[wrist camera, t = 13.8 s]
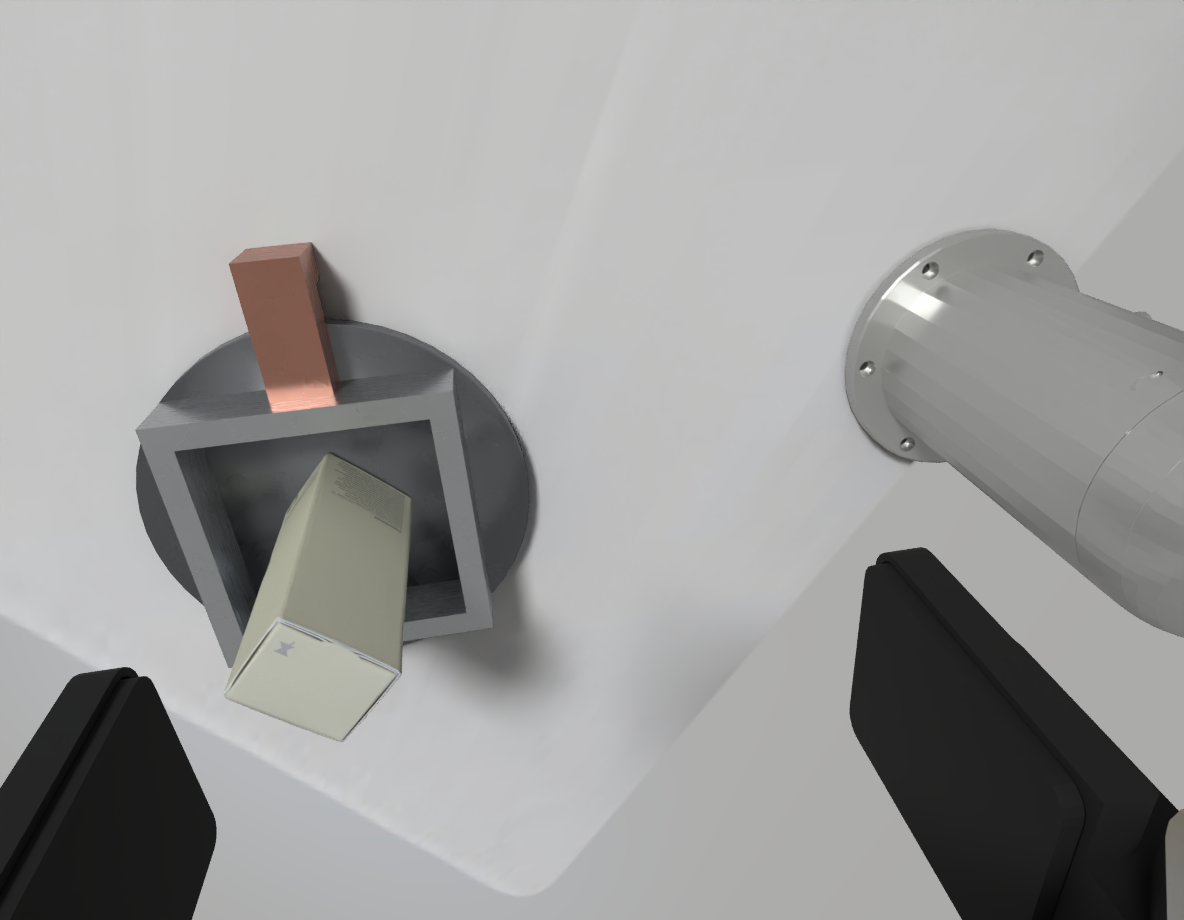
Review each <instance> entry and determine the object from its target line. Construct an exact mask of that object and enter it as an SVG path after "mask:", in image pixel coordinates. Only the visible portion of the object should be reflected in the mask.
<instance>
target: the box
mask: <svg viewBox="0 0 1184 920" xmlns="http://www.w3.org/2000/svg"><path fill="white" fill-rule="evenodd" d="M412 509H413V501H412V499H411V498H410V497H408V496H407V495H405V494H403V493H402V492H400V491H398V490H397V489H395V488H393V487H391V486H390V485H388V484H386V483H384V482H383V481H381V480H379V479H377V478H375V477H374V476H372V475H370V474H368V473H366V472H364V471H363V470H361V469H359V468H357V467H355V466H353V465H352V464H350V463H348V462H346V461H344V460H342V459H340V458H338V457H336V456H334V455H332V454H329V453H328V454H326V455H325V456H324V458H323V459H322V461H321V462H320V463H319V465H318V466H317V467H316V469H315V470H314V472H313V473H312V474H311V476H310V477H309V479H308V480H307V481H306V483H305V484H304V486H303V487H302V489H301V490H300V492H299V493H298V495H297V496H296V498H295V499H294V501H293V502H292V504H291V506H290V507H289V509H288V510H287V512H286V514H285V517H284V521H283V524H282V527H281V529H280V532H279V535H278V538H277V541H276V544H275V547H274V549H273V552H272V555H271V559H270V561H269V564H268V567H267V569H266V573H265V576H264V578H263V581H262V584H261V587H260V589H259V592H258V595H257V598H256V601H255V604H254V607H253V610H252V613H251V616H250V619H249V621H248V624H247V627H246V630H245V633H244V636H243V638H242V641H241V644H240V647H239V650H238V653H237V656H236V659H235V662H234V665H233V668H232V671H231V674H230V677H229V680H228V683H227V686H226V689H225V692H224V696H225V698H227V699H229V700H231V701H233V702H236V703H238V704H241V705H243V706H246V707H248V708H250V709H253V710H255V711H258V712H261V713H263V714H265V715H268V716H271V717H273V718H276V719H278V720H281V721H284V722H286V723H289V724H291V725H294V726H296V727H299V728H302V729H305V730H307V731H310V732H313V733H316V734H319V735H321V736H324V737H327V738H330V739H333V740H336V741H338V742H343V741H345V740H346V739H347V737H348V736H349V735H350V734H351V733H352V732H353V730H354V729H355V728H356V727H357V726H358V725H359V724H360V723H361V722H362V721H363V720H364V719H365V717H366V716H367V715H368V713H369V712H370V711H371V710H372V709H373V708H374V707H375V706H376V705H377V704H378V703H379V701H380V700H381V699H382V698H383V697H384V695H385V694H386V693H387V692H388V690H389V689H390V688H391V687H392V686H393V684H394V683H395V682H396V681H397V680H398V678H399V677H400V676H401V674H402V649H403V633H404V619H405V604H406V591H407V576H408V562H409V549H410V536H411V523H412Z"/></svg>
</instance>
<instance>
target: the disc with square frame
mask: <svg viewBox="0 0 1184 920" xmlns="http://www.w3.org/2000/svg"><path fill="white" fill-rule="evenodd" d="M229 266H230V270H231V273H232V276H233V280H234V283H235V287H236V290H237V293H238V297H239V300H240V304H241V307H242V310H243V314H244V317H245V321H246V324H247V327H248V331H249V332H248V333H245V334H243V335H241V336H238V337H236V338H234V339H232V340H230V341H228V342H226V343H224V344H222V345H220V346H219V347H217V348H216V349H214V350H213V351H211V352H210V353H208V354H207V355H205V356H203V357H202V358H200V359H199V360H198V361H197V362H196V363H195V364H194V365H193V366H192V367H191V368H189V369H188V370H187V371H186V372H185V373H184V374H183V375H182V376H181V377H180V378H179V379H178V380H177V381H176V382H175V384H174V385H173V386H172V387H171V389H170V390H169V391H168V392H167V394H166V395H165V396H164V397H163V399H162V400H161V401H160V402H159V404H158V405H157V407H156V408H155V409H154V410H153V411H152V412H151V413H150V414H149V415H148V417H147V418H146V419H145V420H144V421H143V422H142V423H141V424H140V425H139V427H138V428H137V429H136V433H137V435H138V438H139V441H140V443H141V444H140V449H139V455H138V461H137V467H136V490H137V497H138V503H139V509H140V513H141V516H142V519H143V523H144V526H145V529H146V532H147V534H148V536H149V538H150V540H151V542H152V544H153V546H154V548H155V550H156V552H157V554H158V555H159V557H160V558H161V560H162V561H163V563H164V564H165V566H166V567H167V569H168V570H169V571H170V573H171V574H172V575H173V576H174V577H175V578H176V580H177V581H178V582H179V583H180V584H181V585H182V586H183V587H184V588H185V590H187V591H188V592H189V593H190V594H191V595H192V596H193V597H195V598H196V599H197V600H198V601H199V602H200V603H201V604H203V605H204V606H205V609H206V612H207V614H208V617H209V619H210V622H211V624H212V627H213V629H214V632H215V635H216V637H217V640H218V642H219V645H220V647H221V650H222V652H223V655H224V658H225V660H226V663H227V665H228V668H232V667H233V665H234V662H235V659H236V656H237V653H238V650H239V647H240V644H241V641H242V638H243V636H244V633H245V630H246V627H247V624H248V621H249V619H250V616H251V613H252V610H253V607H254V604H255V601H256V598H257V595H258V592H259V589H260V587H261V584H262V581H263V578H264V576H265V573H266V569H267V567H268V564H269V561H270V559H271V555H272V552H273V549H274V547H275V544H276V541H277V538H278V535H279V532H280V529H281V527H282V524H283V521H284V517H285V514H286V512H287V510H288V509H289V507H290V506H291V504H292V502H293V501H294V499H295V498H296V496H297V495H298V493H299V492H300V490H301V489H302V487H303V486H304V484H305V483H306V481H307V480H308V479H309V477H310V476H311V474H312V473H313V472H314V470H315V469H316V467H317V466H318V465H319V463H320V462H321V461H322V459H323V458H324V456H325V455H326V454H328V453H329V454H332V455H334V456H336V457H338V458H340V459H342V460H344V461H346V462H348V463H350V464H352V465H353V466H355V467H357V468H359V469H361V470H363V471H364V472H366V473H368V474H370V475H372V476H374V477H375V478H377V479H379V480H381V481H383V482H384V483H386V484H388V485H390V486H391V487H393V488H395V489H397V490H398V491H400V492H402V493H403V494H405V495H407V496H408V497H410V498H411V499H412V501H413V509H412V523H411V536H410V549H409V562H408V576H407V591H406V604H405V619H404V633H403V645H405V644H408V643H411V642H414V641H417V640H420V639H423V638H429V637H435V636H442V635H448V634H455V633H462V632H468V631H475V630H481V629H488V628H493V614H492V592H493V591H494V590H495V588H496V587H497V586H498V585H499V583H500V582H501V581H502V580H503V578H504V577H505V575H506V574H507V572H508V570H509V569H510V567H511V565H512V564H513V562H514V560H515V558H516V556H517V553H518V551H519V548H520V546H521V544H522V541H523V537H524V533H525V529H526V525H527V519H528V508H529V491H528V478H527V472H526V467H525V462H524V457H523V452H522V450H521V447H520V444H519V441H518V439H517V436H516V433H515V431H514V429H513V427H512V425H511V423H510V422H509V420H508V418H507V416H506V414H505V412H504V411H503V409H502V408H501V407H500V405H499V404H498V403H497V401H496V400H495V398H494V397H493V396H492V394H491V393H490V392H489V391H488V390H487V389H486V388H485V387H484V386H483V385H482V384H481V383H480V382H479V380H478V379H477V378H476V377H475V376H474V375H473V374H471V373H470V372H469V371H468V370H466V369H465V368H464V367H463V366H461V365H460V364H459V363H458V362H456V361H455V360H454V359H452V358H451V357H449V356H447V355H446V354H444V353H443V352H441V351H439V350H438V349H436V348H434V347H433V346H431V345H429V344H427V343H424V342H422V341H420V340H418V339H416V338H414V337H411V336H409V335H407V334H404V333H401V332H398V331H395V330H391V329H388V328H385V327H382V326H378V325H373V324H367V323H362V322H357V321H349V320H335V319H325V318H324V314H323V310H322V306H321V302H320V298H319V293H318V289H317V285H316V283H317V282H318V280H319V279H320V276H319V272H318V268H317V264H316V260H315V256H314V251H313V247H312V243H311V242H310V243H300V244H290V245H281V246H271V247H261V248H252V249H246V250H244V251H243V252H242V253H241V254H240V255H239V256H237V257H236V258H235V259H234V260H233V261H232V262H230V263H229Z"/></svg>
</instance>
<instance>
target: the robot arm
mask: <svg viewBox="0 0 1184 920" xmlns="http://www.w3.org/2000/svg"><path fill="white" fill-rule="evenodd" d="M924 266H925V267H924ZM923 268H924V269H923ZM862 364H863V365H862ZM861 365H862V366H861ZM845 380H846V392H847V395H848V399H849V402H850V406H851V409H852V411H853V413H854V415H855V416H856V418H857V420H858V422H859V424H860V425H861V426H862V427H863V428H864V429H865V431H866V432H867V433H868V434H869V435H870V436H871V437H872V438H873V439H874V440H875V441H877V442H878V443H879V444H880V445H882V446H883V447H884V448H885V449H886V450H888V451H890V452H892V453H894V454H896V455H898V456H900V457H903V458H907V459H911V460H915V461H919V462H936V463H937V462H938V463H940V462H948V463H949V464H950V465H952V466H953V467H954V468H955V469H956V470H957V471H959V472H960V473H961V474H962V475H963V476H965V477H966V478H967V479H968V480H969V481H971V482H972V483H973V484H974V485H976V486H977V487H978V488H979V489H980V490H981V491H983V492H984V493H985V494H986V495H987V496H989V497H990V498H991V499H992V500H994V501H995V502H996V503H997V504H998V505H1000V506H1001V507H1002V508H1003V509H1004V510H1006V511H1007V512H1008V513H1009V514H1010V515H1011V516H1013V517H1014V518H1015V519H1016V520H1017V521H1019V522H1020V523H1021V524H1022V525H1023V526H1025V527H1026V528H1027V529H1028V530H1030V531H1031V532H1032V533H1033V534H1034V535H1036V536H1037V537H1038V538H1039V539H1040V540H1041V541H1043V542H1044V543H1045V544H1046V545H1048V546H1049V547H1050V548H1051V549H1052V550H1053V551H1055V552H1056V553H1057V554H1058V555H1060V556H1061V557H1062V558H1063V559H1065V560H1066V561H1067V562H1068V563H1069V564H1070V565H1072V566H1073V567H1074V568H1075V569H1076V570H1078V571H1079V572H1080V573H1081V574H1082V575H1084V576H1085V577H1086V578H1087V579H1088V580H1090V581H1091V582H1092V583H1093V584H1094V585H1096V586H1097V587H1098V588H1099V589H1100V590H1102V591H1103V592H1104V593H1106V594H1107V595H1108V596H1109V597H1110V598H1111V599H1113V600H1114V601H1115V602H1116V603H1118V604H1119V605H1120V606H1121V607H1123V608H1124V609H1126V610H1127V611H1128V612H1130V613H1131V614H1133V615H1134V616H1136V617H1137V618H1139V619H1141V620H1143V621H1145V622H1146V623H1149V624H1150V625H1152V626H1154V627H1156V628H1159V629H1161V630H1163V631H1166V632H1169V633H1172V634H1174V635H1177V636H1180V637H1183V638H1184V331H1181V330H1179V329H1176V328H1173V327H1171V326H1168V325H1165V324H1163V323H1160V322H1157V321H1155V320H1152V318H1151V316H1150V315H1149V314H1147V313H1146V312H1131V311H1128V310H1126V309H1123V308H1120V307H1118V306H1115V305H1112V304H1110V303H1107V302H1104V301H1102V300H1099V299H1096V298H1094V297H1091V296H1088V295H1085V294H1083V293H1080V292H1079V289H1078V286H1077V283H1076V280H1075V277H1074V275H1073V273H1072V272H1071V270H1070V268H1069V267H1068V265H1067V264H1066V262H1065V261H1064V259H1063V258H1062V257H1061V256H1059V255H1058V254H1057V253H1056V252H1055V251H1054V250H1053V249H1052V248H1051V247H1049V246H1048V245H1046V244H1044V243H1042V242H1040V241H1038V240H1036V239H1034V238H1032V237H1029V236H1026V235H1022V234H1019V233H1016V232H1012V231H1006V230H996V229H983V230H973V231H966V232H962V233H959V234H956V235H953V236H949V237H946V238H943V239H941V240H939V241H937V242H935V243H933V244H931V245H929V246H927V247H925V248H924V249H922V250H920V251H919V252H917V253H916V254H914V255H913V256H912V257H910V258H909V259H908V260H906V261H905V262H904V263H902V264H901V265H899V267H898V268H897V269H896V270H895V271H894V272H893V273H892V274H891V275H890V276H889V277H888V278H887V279H886V280H885V281H884V282H883V283H882V284H881V285H880V286H879V288H878V289H877V290H876V292H875V293H874V294H873V296H872V297H871V298H870V300H869V301H868V303H867V304H866V306H865V308H864V310H863V312H862V314H861V315H860V317H859V319H858V321H857V323H856V325H855V328H854V331H853V334H852V337H851V340H850V343H849V346H848V351H847V358H846V366H845ZM850 719H851V723H852V727H853V730H854V733H855V735H856V737H857V739H858V740H859V742H860V744H861V746H862V747H863V749H864V751H865V752H866V754H867V756H868V757H869V759H870V761H871V763H872V765H873V766H874V768H875V770H876V771H877V773H878V775H879V777H880V778H881V780H882V782H883V784H884V785H885V787H886V789H887V791H888V792H889V794H890V796H891V797H892V799H893V801H894V803H895V804H896V806H897V808H898V810H899V811H900V813H901V815H902V817H903V818H904V820H905V822H906V823H907V825H908V827H909V829H910V830H911V832H912V834H913V836H914V837H915V839H916V841H917V842H918V844H919V846H920V848H921V849H922V851H923V853H924V855H925V856H926V858H927V860H928V861H929V863H930V865H931V867H932V868H933V870H934V872H935V874H936V875H937V877H938V879H939V881H940V882H941V884H942V886H943V887H944V889H945V891H946V893H947V894H948V896H949V898H950V900H951V901H952V903H953V905H954V907H955V908H956V910H957V911H958V913H959V915H960V917H961V919H962V920H1184V809H1182V810H1180V811H1178V810H1177V809H1176V808H1175V806H1173V804H1172V803H1171V802H1170V801H1169V800H1168V799H1167V798H1166V797H1165V796H1164V795H1163V794H1162V793H1161V792H1160V791H1159V790H1158V789H1157V788H1156V787H1155V785H1154V784H1153V783H1151V781H1150V780H1149V779H1148V778H1147V777H1146V776H1145V775H1144V774H1143V773H1142V772H1141V771H1140V770H1139V769H1138V768H1137V767H1136V766H1135V764H1134V763H1133V762H1132V761H1131V760H1130V759H1129V758H1128V757H1127V756H1126V755H1125V754H1124V753H1123V752H1122V751H1121V750H1120V749H1119V748H1118V747H1117V746H1116V744H1115V743H1114V742H1113V741H1112V740H1111V739H1110V738H1109V737H1108V736H1107V735H1106V734H1105V733H1104V732H1103V731H1102V730H1101V729H1100V728H1099V727H1098V725H1097V724H1096V723H1095V722H1094V721H1093V720H1092V719H1091V718H1090V717H1089V716H1088V715H1087V714H1086V713H1085V712H1084V711H1083V710H1082V709H1081V708H1080V707H1079V706H1078V705H1077V703H1076V702H1075V701H1073V699H1072V698H1071V697H1070V696H1069V695H1068V694H1067V693H1066V692H1065V691H1064V690H1063V689H1062V688H1061V687H1060V686H1059V685H1058V683H1057V682H1056V681H1055V680H1054V679H1053V678H1052V677H1051V676H1050V675H1049V674H1048V673H1047V672H1046V671H1045V670H1044V669H1043V668H1042V667H1041V666H1040V664H1038V662H1037V661H1036V660H1035V659H1034V658H1033V657H1032V656H1031V655H1030V654H1029V653H1028V652H1027V651H1026V650H1025V649H1024V648H1023V647H1022V646H1021V645H1020V644H1019V643H1017V642H1016V641H1015V640H1014V639H1013V638H1012V637H1011V636H1010V635H1009V634H1008V633H1007V632H1006V631H1005V630H1004V629H1003V628H1002V627H1001V626H1000V625H999V624H998V622H996V620H995V619H994V618H993V617H992V616H991V615H990V614H989V613H988V612H987V611H986V610H985V609H984V608H983V607H982V606H981V605H980V604H979V602H978V601H977V600H976V599H975V598H974V597H973V596H972V595H971V594H970V593H969V592H968V591H967V590H966V589H965V588H964V587H963V586H962V584H961V583H960V582H959V581H958V580H957V579H956V578H955V577H954V576H953V575H952V574H951V573H950V572H949V571H948V570H947V569H946V568H945V567H944V565H943V564H942V563H941V562H940V561H939V560H938V559H937V558H936V557H935V556H934V555H933V554H932V553H931V552H930V551H929V550H927V549H926V548H922V547H920V548H913V549H907V550H901V551H893V552H887V553H883V554H881V555H880V556H879V557H878V558H877V561H876V565H873V566H870V567H868V568H867V570H866V573H865V579H864V589H863V597H862V606H861V614H860V623H859V632H858V640H857V649H856V658H855V667H854V675H853V684H852V692H851V701H850ZM215 843H216V821H215V818H214V815H213V813H212V810H211V808H210V806H209V804H208V802H207V799H206V797H205V795H204V793H203V791H202V789H201V786H200V784H199V782H198V780H197V778H196V775H195V773H194V771H193V769H192V767H191V765H190V762H189V760H188V758H187V756H186V754H185V751H184V749H183V747H182V745H181V743H180V741H179V738H178V736H177V734H176V732H175V730H174V727H173V725H172V723H171V721H170V719H169V717H168V714H167V712H166V710H165V708H164V706H163V703H162V701H161V699H160V697H159V695H158V693H157V690H156V688H155V686H154V684H153V682H152V681H151V679H149V678H148V677H146V676H142V677H138V675H137V673H136V672H135V671H134V670H133V669H131V668H128V667H122V668H116V669H109V670H102V671H96V672H90V673H82V674H78V675H76V676H74V677H73V678H72V679H71V680H70V681H69V682H68V683H67V685H66V687H65V688H64V690H63V691H62V693H61V694H60V696H59V698H58V699H57V701H56V702H55V704H54V705H53V707H52V708H51V710H50V712H49V713H48V715H47V716H46V718H45V720H44V721H43V722H42V724H41V726H40V728H39V729H38V730H37V732H36V734H35V735H34V737H33V738H32V740H31V741H30V743H29V744H28V746H27V747H26V749H25V751H24V752H23V754H22V755H21V757H20V759H19V760H18V762H17V763H16V765H15V766H14V768H13V769H12V771H11V773H10V774H9V776H8V777H7V779H6V780H5V782H4V783H3V785H2V787H1V788H0V920H192V917H193V913H194V911H195V907H196V904H197V901H198V898H199V895H200V892H201V889H202V886H203V883H204V879H205V876H206V873H207V870H208V867H209V864H210V861H211V858H212V854H213V851H214V847H215Z"/></svg>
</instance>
